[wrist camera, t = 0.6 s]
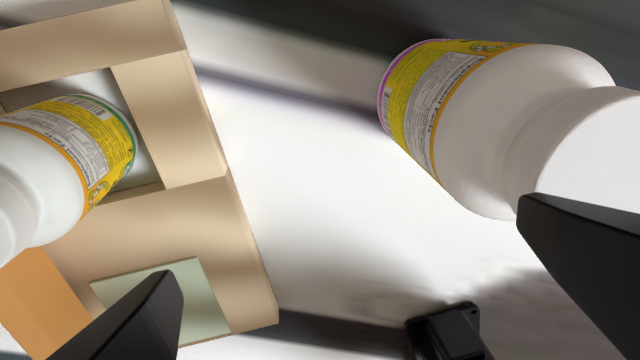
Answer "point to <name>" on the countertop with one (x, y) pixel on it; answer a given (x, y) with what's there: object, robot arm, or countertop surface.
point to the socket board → (172, 164)
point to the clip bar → (39, 304)
